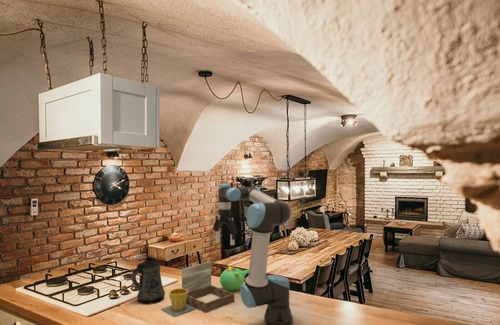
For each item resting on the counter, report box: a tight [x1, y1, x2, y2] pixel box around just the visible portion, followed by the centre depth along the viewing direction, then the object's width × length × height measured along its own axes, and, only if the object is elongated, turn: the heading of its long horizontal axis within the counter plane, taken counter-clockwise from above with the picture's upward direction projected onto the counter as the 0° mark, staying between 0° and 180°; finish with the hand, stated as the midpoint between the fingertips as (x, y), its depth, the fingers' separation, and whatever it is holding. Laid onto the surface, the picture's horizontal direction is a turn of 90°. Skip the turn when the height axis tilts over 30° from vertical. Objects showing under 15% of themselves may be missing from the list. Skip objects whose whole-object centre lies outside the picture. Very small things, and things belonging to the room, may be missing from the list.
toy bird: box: [219, 266, 249, 291], centre depth 229 cm, size 18×17×15 cm
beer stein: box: [130, 257, 166, 305], centre depth 212 cm, size 16×19×25 cm
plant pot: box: [168, 287, 188, 311], centre depth 197 cm, size 10×10×10 cm
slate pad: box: [160, 304, 197, 318], centre depth 197 cm, size 14×14×1 cm
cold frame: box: [181, 261, 235, 314], centre depth 208 cm, size 23×22×20 cm
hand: (224, 243), depth 211 cm, fingers open, 13 cm apart
